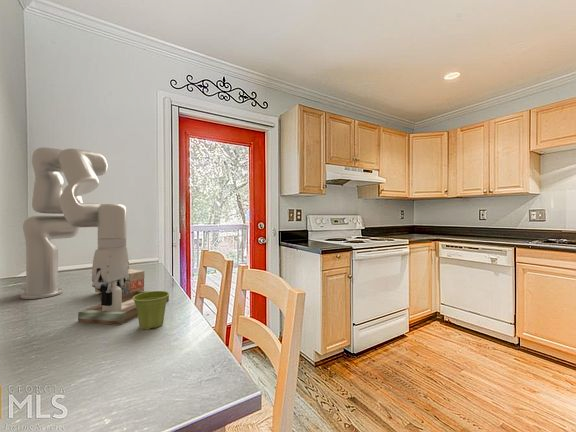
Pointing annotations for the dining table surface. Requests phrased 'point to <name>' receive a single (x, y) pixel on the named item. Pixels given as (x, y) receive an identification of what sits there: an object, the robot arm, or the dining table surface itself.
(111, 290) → the eye dropper bottle
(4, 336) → the dining table surface
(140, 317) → the plant pot
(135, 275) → the stack of blocks
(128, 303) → the divided wooden tray
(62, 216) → the robot arm
